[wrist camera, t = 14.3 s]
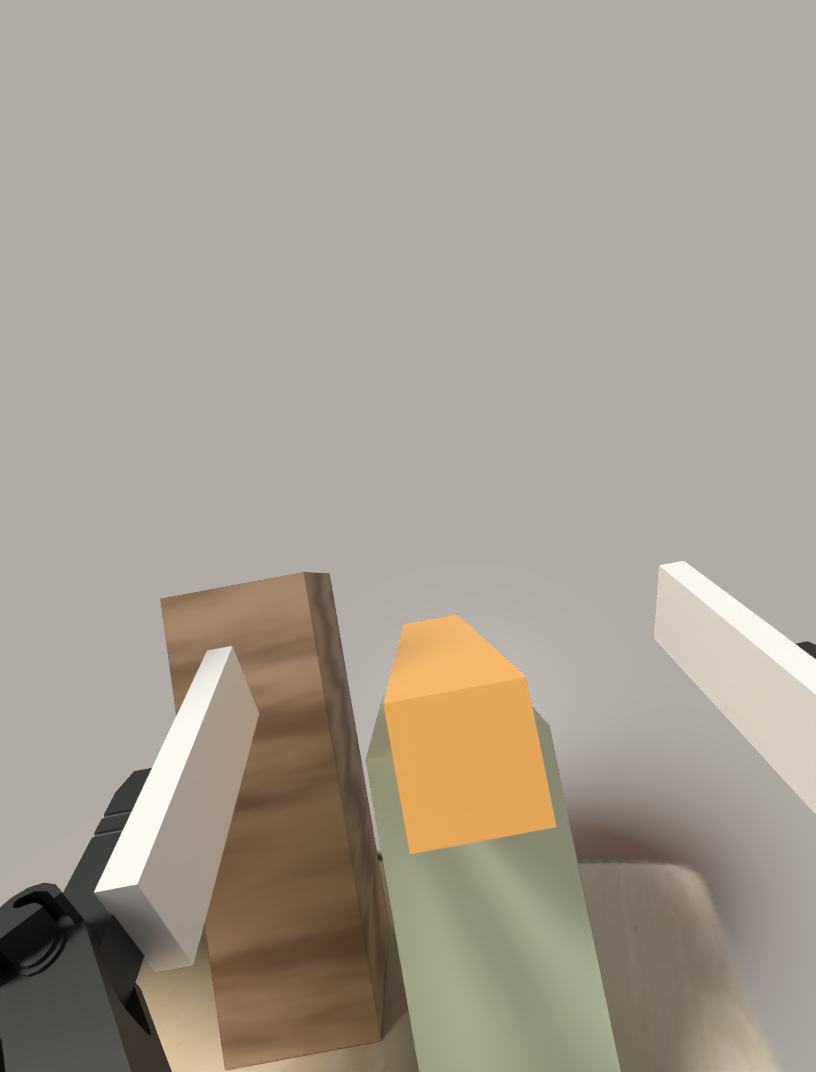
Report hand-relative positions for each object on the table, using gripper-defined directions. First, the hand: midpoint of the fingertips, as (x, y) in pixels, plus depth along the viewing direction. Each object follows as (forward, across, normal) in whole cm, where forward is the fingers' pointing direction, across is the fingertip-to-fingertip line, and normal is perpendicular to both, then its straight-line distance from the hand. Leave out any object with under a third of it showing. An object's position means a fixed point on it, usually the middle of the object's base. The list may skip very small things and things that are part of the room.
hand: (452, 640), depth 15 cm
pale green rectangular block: (-2, 0, -29) cm, 29 cm away
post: (+7, -13, -34) cm, 37 cm away
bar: (+6, 0, -9) cm, 11 cm away
